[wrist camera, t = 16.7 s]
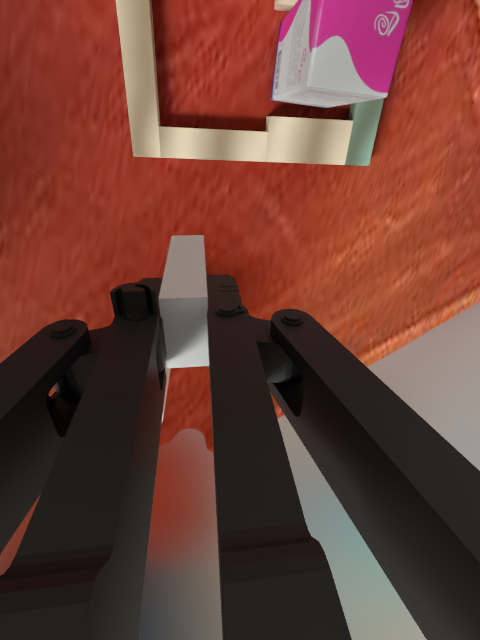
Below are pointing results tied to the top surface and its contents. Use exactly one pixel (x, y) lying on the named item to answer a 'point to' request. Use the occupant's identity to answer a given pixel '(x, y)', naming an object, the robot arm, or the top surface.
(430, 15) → the top surface
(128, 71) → the cream and green frame
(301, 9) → the supplement box
